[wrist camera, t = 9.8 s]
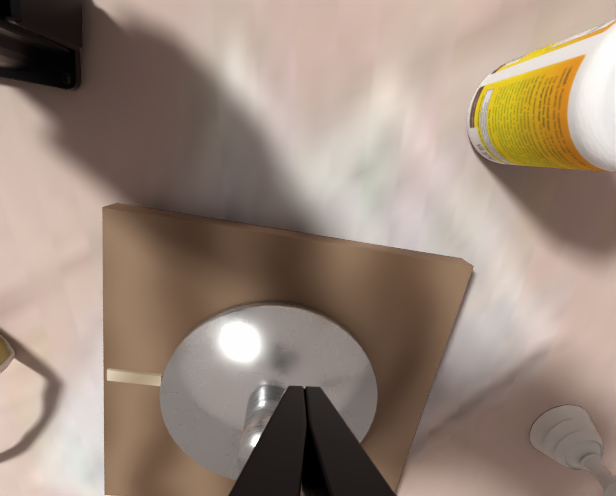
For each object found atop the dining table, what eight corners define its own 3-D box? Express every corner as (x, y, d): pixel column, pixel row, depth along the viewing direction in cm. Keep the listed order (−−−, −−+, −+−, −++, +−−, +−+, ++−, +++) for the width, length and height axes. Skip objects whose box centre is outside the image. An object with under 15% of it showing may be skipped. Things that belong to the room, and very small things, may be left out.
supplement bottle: (500, 183, 20) (699, 216, 10) (443, 118, 19) (609, 85, 9) (574, 111, 19) (876, 72, 9) (519, 37, 18) (803, -101, 8)
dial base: (115, 475, 25) (103, 497, 24) (116, 202, 19) (100, 208, 18) (381, 496, 28) (387, 518, 26) (461, 258, 21) (475, 267, 20)
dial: (163, 290, 19) (121, 338, 14) (391, 309, 20) (422, 359, 15) (167, 496, 24) (137, 582, 19) (350, 502, 25) (364, 585, 20)
